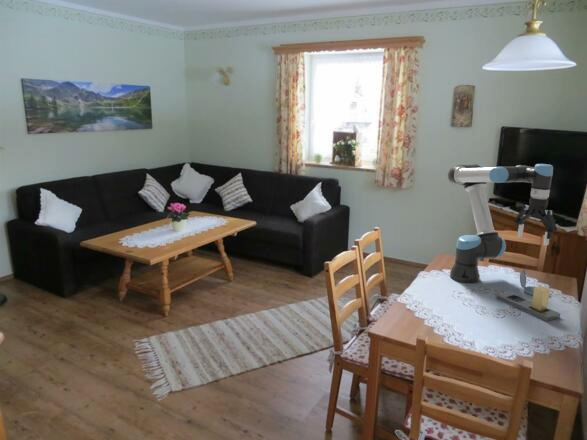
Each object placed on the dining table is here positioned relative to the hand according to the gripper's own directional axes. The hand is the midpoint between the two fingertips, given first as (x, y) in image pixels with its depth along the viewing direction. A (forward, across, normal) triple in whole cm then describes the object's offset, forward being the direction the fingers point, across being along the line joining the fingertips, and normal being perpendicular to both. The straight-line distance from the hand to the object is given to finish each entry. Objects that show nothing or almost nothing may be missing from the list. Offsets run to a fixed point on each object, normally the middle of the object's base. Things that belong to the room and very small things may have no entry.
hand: (532, 241), depth 204 cm
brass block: (+29, +15, -10) cm, 34 cm away
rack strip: (+29, +9, -10) cm, 32 cm away
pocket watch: (+29, -1, +9) cm, 30 cm away
